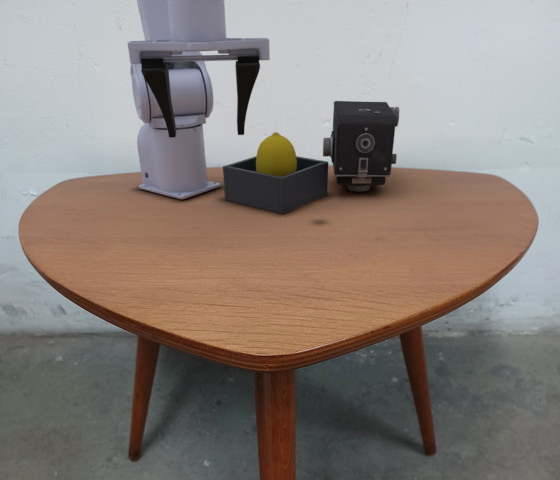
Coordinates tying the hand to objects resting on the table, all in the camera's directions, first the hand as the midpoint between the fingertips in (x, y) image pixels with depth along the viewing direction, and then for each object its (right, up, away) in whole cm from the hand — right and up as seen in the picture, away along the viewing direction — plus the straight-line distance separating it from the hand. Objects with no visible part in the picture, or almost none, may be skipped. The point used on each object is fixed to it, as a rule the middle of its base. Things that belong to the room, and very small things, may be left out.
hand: (206, 134), depth 63 cm
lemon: (+8, -2, +14) cm, 16 cm away
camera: (+20, +1, +19) cm, 28 cm away
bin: (+8, -3, +14) cm, 17 cm away
